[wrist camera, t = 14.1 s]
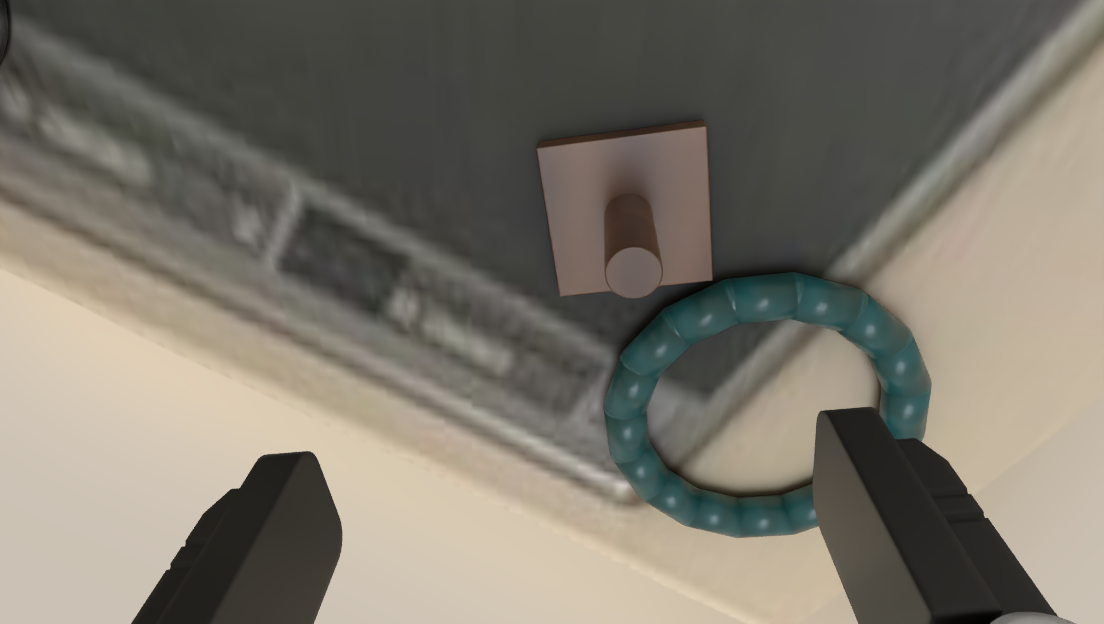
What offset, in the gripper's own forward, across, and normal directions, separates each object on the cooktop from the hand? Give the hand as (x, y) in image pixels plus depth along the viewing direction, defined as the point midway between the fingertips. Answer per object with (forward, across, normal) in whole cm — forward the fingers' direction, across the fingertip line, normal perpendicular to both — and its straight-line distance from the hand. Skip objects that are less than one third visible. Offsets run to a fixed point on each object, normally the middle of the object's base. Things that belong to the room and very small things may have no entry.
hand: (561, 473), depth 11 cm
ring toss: (+25, -2, +5) cm, 25 cm away
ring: (+23, -9, +18) cm, 31 cm away
